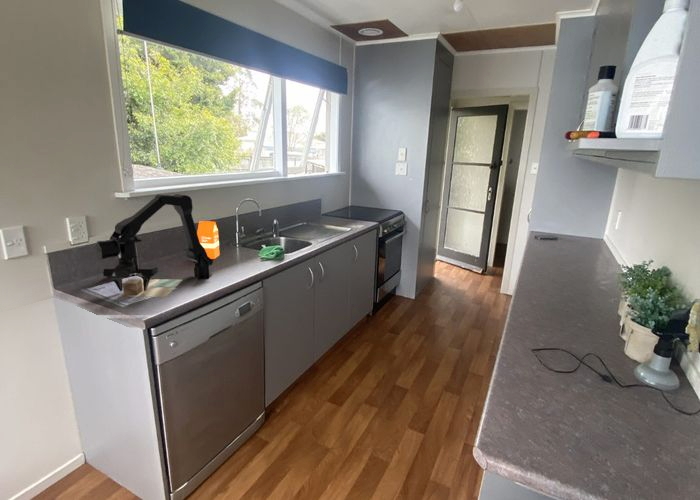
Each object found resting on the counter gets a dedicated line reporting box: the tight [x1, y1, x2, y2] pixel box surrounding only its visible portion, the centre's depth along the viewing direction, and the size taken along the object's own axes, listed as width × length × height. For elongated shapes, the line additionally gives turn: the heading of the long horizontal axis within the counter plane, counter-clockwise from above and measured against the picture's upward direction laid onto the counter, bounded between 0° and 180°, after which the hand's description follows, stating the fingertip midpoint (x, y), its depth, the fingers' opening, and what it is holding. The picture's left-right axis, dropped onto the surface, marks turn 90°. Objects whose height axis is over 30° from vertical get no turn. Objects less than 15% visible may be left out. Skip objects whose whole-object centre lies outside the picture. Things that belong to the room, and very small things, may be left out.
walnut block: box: [122, 278, 143, 295], centre depth 150 cm, size 5×5×5 cm
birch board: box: [118, 278, 183, 298], centre depth 157 cm, size 18×20×1 cm
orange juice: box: [196, 220, 220, 260], centre depth 203 cm, size 8×9×20 cm
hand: (133, 291), depth 150 cm, fingers open, 9 cm apart
